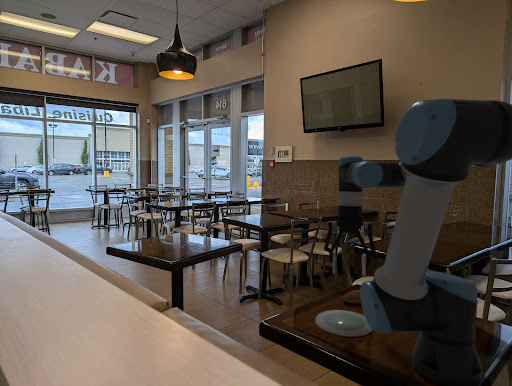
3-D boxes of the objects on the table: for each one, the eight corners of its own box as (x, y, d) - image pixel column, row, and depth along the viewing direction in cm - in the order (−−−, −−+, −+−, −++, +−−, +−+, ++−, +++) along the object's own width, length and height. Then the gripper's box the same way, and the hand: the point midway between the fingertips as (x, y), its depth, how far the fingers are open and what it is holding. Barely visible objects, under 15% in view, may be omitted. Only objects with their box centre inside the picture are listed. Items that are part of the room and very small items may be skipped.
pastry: (348, 305, 126) (349, 295, 125) (338, 298, 132) (339, 289, 132) (371, 302, 128) (371, 292, 128) (360, 296, 135) (360, 286, 135)
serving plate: (377, 339, 101) (377, 337, 101) (314, 333, 105) (314, 331, 105) (370, 314, 119) (370, 312, 119) (316, 309, 123) (316, 307, 123)
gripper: (383, 204, 115) (382, 272, 116) (316, 203, 120) (315, 268, 121) (387, 206, 108) (385, 279, 109) (315, 204, 112) (314, 274, 113)
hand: (348, 273), depth 115 cm, fingers open, 9 cm apart
